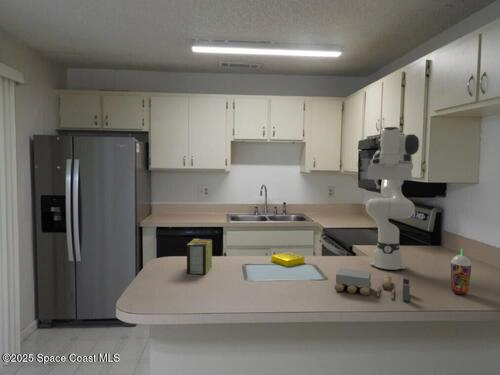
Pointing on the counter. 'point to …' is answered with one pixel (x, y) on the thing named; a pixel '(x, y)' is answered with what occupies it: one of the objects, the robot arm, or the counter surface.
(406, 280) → the posts
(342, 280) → the slab
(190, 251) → the protein box
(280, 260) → the element tile
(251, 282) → the counter surface
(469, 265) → the smoothie
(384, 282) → the roller
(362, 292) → the roller bed
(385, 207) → the robot arm
